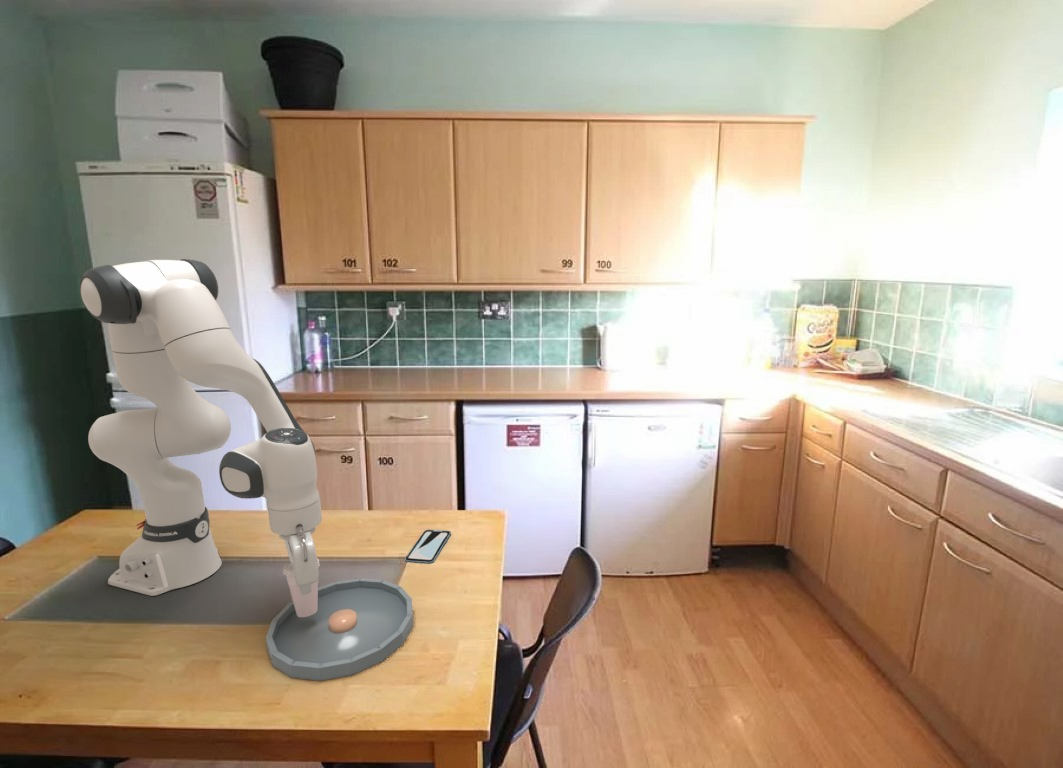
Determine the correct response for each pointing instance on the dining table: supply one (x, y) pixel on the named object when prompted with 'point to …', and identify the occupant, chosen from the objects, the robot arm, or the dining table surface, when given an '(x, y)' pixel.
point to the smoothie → (302, 603)
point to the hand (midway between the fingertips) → (303, 582)
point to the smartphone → (428, 546)
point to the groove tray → (341, 630)
